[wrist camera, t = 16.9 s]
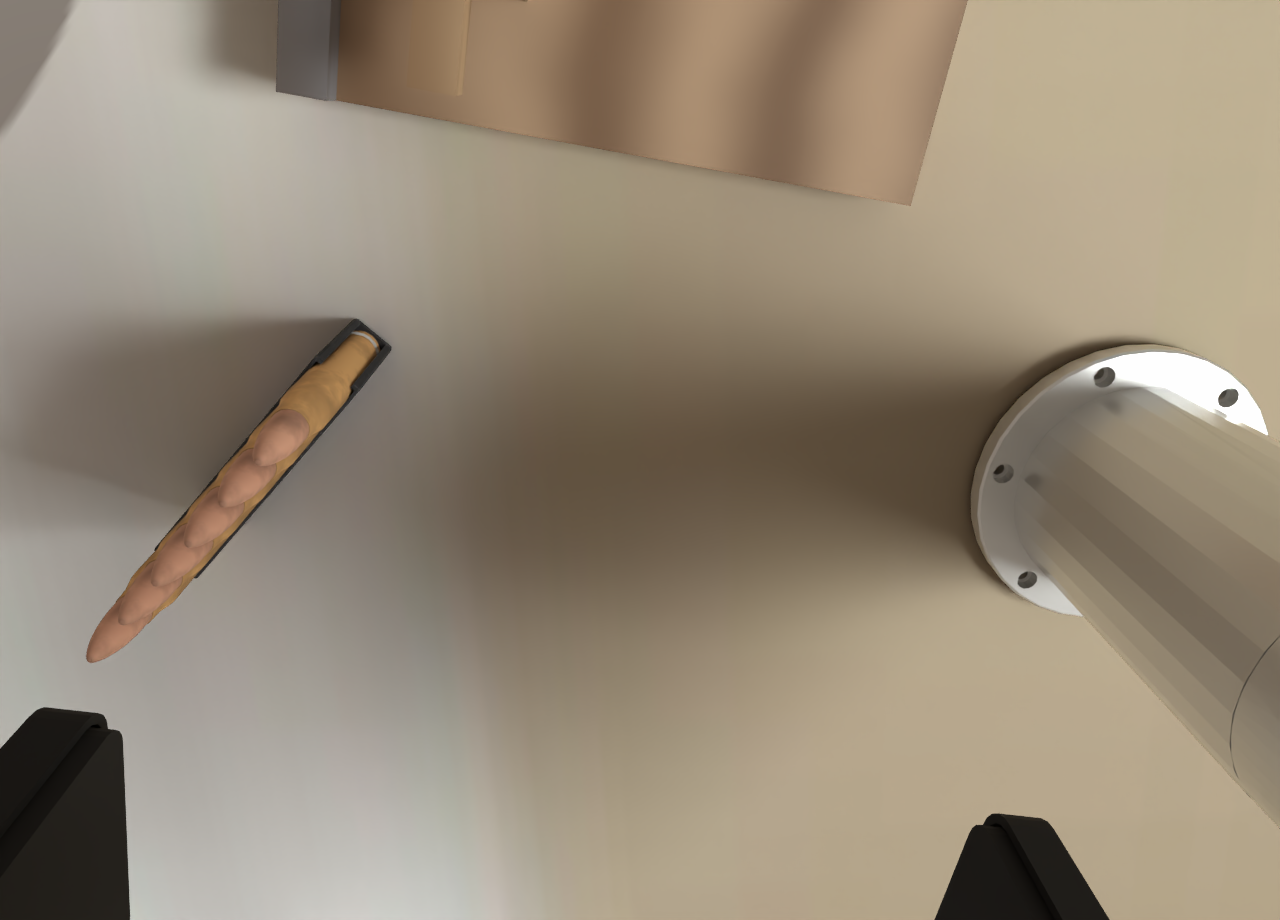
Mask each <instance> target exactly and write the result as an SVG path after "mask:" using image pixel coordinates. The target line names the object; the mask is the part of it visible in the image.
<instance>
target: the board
mask: <svg viewBox="0 0 1280 920" xmlns="http://www.w3.org/2000/svg"><path fill="white" fill-rule="evenodd" d="M967 1H968V0H528V2H525V1H520V0H472V2H471V12H470V22H469V32H468V42H467V53H466V63H465V73H464V83H463V93H462V95H459V96H452V95H446V94H441V93H436V92H431V91H425V90H420V89H415V88H410V87H406V85H407V72H408V59H409V45H410V32H411V19H412V6H413V0H279V1H278V39H277V76H276V92H281V93H287V94H292V95H298V96H303V97H309V98H314V99H319V100H325V101H332V100H337V101H343V102H348V103H354V104H359V105H364V106H370V107H375V108H381V109H386V110H392V111H397V112H403V113H408V114H413V115H419V116H424V117H430V118H435V119H441V120H446V121H451V122H457V123H462V124H468V125H473V126H479V127H484V128H490V129H495V130H500V131H506V132H511V133H517V134H522V135H528V136H533V137H539V138H544V139H549V140H555V141H560V142H566V143H571V144H577V145H582V146H587V147H593V148H598V149H604V150H609V151H615V152H620V153H626V154H631V155H636V156H642V157H647V158H653V159H658V160H664V161H669V162H674V163H680V164H685V165H691V166H696V167H702V168H707V169H713V170H718V171H723V172H729V173H734V174H740V175H745V176H751V177H756V178H762V179H767V180H772V181H778V182H783V183H789V184H794V185H800V186H805V187H810V188H816V189H821V190H827V191H832V192H838V193H843V194H849V195H854V196H859V197H865V198H870V199H876V200H881V201H887V202H892V203H898V204H903V205H908V206H911V202H912V199H913V195H914V191H915V188H916V184H917V181H918V177H919V173H920V170H921V166H922V163H923V159H924V156H925V152H926V148H927V145H928V141H929V138H930V134H931V130H932V127H933V123H934V120H935V116H936V112H937V109H938V105H939V102H940V98H941V95H942V91H943V87H944V84H945V80H946V77H947V73H948V69H949V66H950V62H951V59H952V55H953V51H954V48H955V44H956V41H957V37H958V34H959V30H960V26H961V23H962V19H963V16H964V12H965V8H966V5H967Z"/></svg>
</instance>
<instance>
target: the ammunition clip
mask: <svg viewBox="0 0 1280 920" xmlns="http://www.w3.org/2000/svg"><path fill="white" fill-rule="evenodd" d="M390 351H391V346H390V345H389V344H388V343H386V342H385V341H384V340H383V339H381V338H380V337H379V336H378V335H377V334H375V333H374V332H373V331H372V330H370V329H369V328H368V327H367V326H366V325H364V324H363V323H362V322H361V321H359V320H358V319H354V320H353V321H352V322H351V323H350V324H349V325H348V326H347V327H346V328H345V329H344V330H342V331H341V332H340V333H339V334H338V335H337V336H336V337H335V338H334V339H333V340H332V341H331V342H330V343H329V344H328V345H327V346H326V347H325V348H324V349H323V350H322V351H321V352H320V353H319V354H318V355H317V356H316V357H315V358H314V359H313V360H312V361H311V362H310V364H309V365H308V366H307V367H306V368H305V370H304V371H303V372H302V373H301V374H300V375H299V377H298V378H297V379H296V380H295V381H294V383H293V384H292V385H291V386H290V387H289V389H288V390H287V391H286V392H285V393H284V395H283V396H282V397H281V398H280V399H279V401H278V402H277V403H276V404H275V405H274V407H273V408H272V409H271V410H270V411H269V413H268V414H267V415H266V416H265V417H264V419H263V420H262V421H261V422H260V423H259V424H258V426H257V427H256V428H255V429H254V430H253V432H252V433H251V434H250V435H249V436H248V438H247V439H246V440H245V441H244V442H243V444H242V445H241V446H240V447H239V448H238V450H237V451H236V452H235V453H234V454H233V456H232V457H231V458H230V459H229V460H228V462H227V463H226V464H225V465H224V466H223V468H222V469H221V470H220V471H219V472H218V473H217V475H216V476H215V477H214V478H213V479H212V481H211V482H210V483H209V484H208V485H207V487H206V488H205V489H204V490H203V491H202V493H201V494H200V495H199V496H198V497H197V499H196V500H195V501H194V502H193V503H192V505H191V506H190V507H189V508H188V509H187V511H186V512H185V513H184V514H183V515H182V517H181V518H180V519H179V520H178V521H177V522H176V524H175V525H174V526H173V527H172V528H171V530H170V531H169V532H168V533H167V534H166V536H165V537H164V538H163V539H162V540H161V542H160V543H159V544H158V545H157V546H156V548H155V550H154V551H155V552H154V553H153V554H152V555H151V556H150V557H149V558H148V559H147V561H146V562H145V563H144V564H143V565H142V566H141V567H140V568H139V569H138V570H137V572H136V573H135V574H134V575H133V576H132V578H131V580H130V582H129V584H128V586H127V588H126V590H125V591H124V592H123V594H122V595H121V596H120V597H119V598H118V600H117V601H116V603H115V604H114V605H113V607H112V608H111V609H110V610H109V611H108V612H107V614H106V615H105V616H104V618H103V619H102V620H101V622H100V623H99V625H98V626H97V628H96V630H95V631H94V633H93V635H92V638H91V640H90V643H89V645H88V649H87V655H86V659H87V661H88V662H90V663H93V662H97V661H100V660H102V659H105V658H107V657H108V656H110V655H112V654H114V653H115V652H117V651H118V650H120V649H121V648H123V647H124V646H125V645H126V644H128V643H129V642H130V641H131V640H132V639H133V638H134V637H135V636H136V635H137V634H138V633H139V632H140V631H141V630H142V629H143V628H144V626H145V625H146V624H148V623H149V622H150V621H151V620H152V619H153V618H154V617H155V616H156V615H157V614H158V613H159V612H160V611H161V610H163V609H164V608H166V607H167V606H169V605H170V604H172V603H173V602H174V601H175V600H176V598H177V597H178V596H179V595H180V594H181V593H182V591H183V590H184V589H185V588H186V587H187V585H188V584H189V583H190V582H191V581H192V579H193V578H198V577H199V576H200V574H201V573H202V572H203V571H204V570H205V569H206V568H207V566H208V565H209V564H210V563H211V562H212V561H213V559H214V558H215V557H216V556H217V555H218V554H219V552H220V551H221V550H222V549H223V548H224V547H225V546H226V544H227V543H228V542H229V541H230V540H231V539H232V537H233V536H234V535H235V534H236V533H237V532H238V531H239V529H240V528H241V527H242V526H243V525H244V524H245V522H246V521H247V520H248V519H249V518H250V517H251V515H252V514H253V513H254V512H255V511H256V510H257V509H258V507H259V506H260V505H261V504H262V503H263V502H264V500H265V499H266V498H267V497H268V496H269V495H270V494H271V492H272V491H273V490H274V489H275V488H276V487H277V485H278V484H279V483H280V482H281V481H282V480H283V478H284V477H285V476H286V475H287V474H288V473H289V472H290V470H291V469H292V468H293V467H294V466H295V465H296V463H297V462H298V461H299V460H300V459H301V458H302V457H303V455H304V454H305V453H306V452H307V451H308V450H309V448H310V447H311V446H312V445H313V444H314V443H315V441H316V440H317V439H318V438H319V437H320V436H321V435H322V433H323V432H324V431H325V430H326V429H327V428H328V426H329V425H330V424H331V423H332V422H333V421H334V420H335V418H336V417H337V416H338V415H339V414H340V413H341V411H342V410H343V409H344V408H345V407H346V406H347V404H348V403H349V402H350V401H351V400H352V399H353V398H354V396H355V395H356V394H357V393H358V392H359V391H360V389H361V388H362V387H363V385H364V384H365V383H366V382H367V380H368V379H369V378H370V377H371V375H372V374H373V373H374V372H375V370H376V369H377V368H378V366H379V365H380V364H381V363H382V361H383V360H384V359H385V358H386V356H387V355H388V354H389V353H390Z"/></svg>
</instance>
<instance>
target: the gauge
mask: <svg viewBox="0 0 1280 920" xmlns="http://www.w3.org/2000/svg"><path fill="white" fill-rule="evenodd" d="M520 1H525V2H528V0H520ZM471 2H472V0H413V6H412V19H411V32H410V45H409V59H408V72H407V85H406V87H410V88H415V89H420V90H425V91H431V92H436V93H441V94H446V95H452V96H459V95H462V93H463V83H464V73H465V63H466V53H467V42H468V32H469V22H470V12H471Z"/></svg>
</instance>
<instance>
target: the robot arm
mask: <svg viewBox="0 0 1280 920" xmlns="http://www.w3.org/2000/svg"><path fill="white" fill-rule="evenodd" d="M1097 371H1098V373H1097V374H1096V372H1097ZM1095 374H1096V375H1095ZM998 466H999V468H998V469H996V468H997V467H998ZM995 469H996V470H995ZM971 520H972V524H973V528H974V532H975V536H976V541H977V543H978V545H979V547H980V549H981V551H982V553H983V555H984V557H985V559H986V561H987V562H988V563H989V565H990V566H991V567H992V568H993V570H994V571H995V572H996V573H997V575H998V576H999V577H1000V579H1001V580H1002V581H1003V582H1004V583H1005V584H1006V585H1007V586H1008V587H1009V588H1010V589H1011V590H1012V591H1013V592H1015V593H1016V594H1017V595H1019V596H1021V597H1022V598H1024V599H1026V600H1027V601H1029V602H1031V603H1033V604H1034V605H1036V606H1038V607H1041V608H1044V609H1047V610H1050V611H1053V612H1056V613H1059V614H1065V615H1072V616H1079V617H1085V619H1086V620H1087V621H1088V622H1089V623H1090V624H1091V625H1092V626H1093V627H1094V628H1095V629H1096V631H1097V632H1098V633H1099V634H1100V635H1101V636H1102V637H1103V638H1104V639H1105V640H1106V641H1107V642H1108V644H1109V645H1110V646H1111V647H1112V648H1113V649H1114V650H1115V651H1116V652H1117V653H1118V654H1119V656H1120V657H1121V658H1122V659H1123V660H1124V661H1125V662H1126V663H1127V664H1128V665H1129V666H1130V668H1131V669H1132V670H1133V671H1134V672H1135V673H1136V674H1137V675H1138V676H1139V677H1140V678H1141V680H1142V681H1143V682H1144V683H1145V684H1146V685H1147V686H1148V687H1149V688H1150V689H1151V690H1152V692H1153V693H1154V694H1155V695H1156V696H1157V697H1158V698H1159V699H1160V700H1161V701H1162V702H1163V704H1164V705H1165V706H1166V707H1167V708H1168V709H1169V710H1170V711H1171V712H1172V713H1173V714H1174V716H1175V717H1176V718H1177V719H1178V720H1179V721H1180V722H1181V723H1182V724H1183V725H1184V726H1185V728H1186V729H1187V730H1188V731H1189V732H1190V733H1191V734H1192V735H1193V736H1194V737H1195V738H1196V740H1197V741H1198V742H1199V743H1200V744H1201V745H1202V746H1203V747H1204V748H1205V749H1206V750H1207V752H1208V753H1209V754H1210V755H1211V756H1212V757H1213V758H1214V759H1215V760H1216V761H1217V762H1218V764H1219V765H1220V766H1221V767H1222V768H1223V769H1224V770H1225V771H1226V772H1227V773H1228V774H1229V775H1230V777H1231V778H1232V779H1233V780H1234V781H1235V782H1236V783H1237V784H1238V785H1239V786H1240V787H1241V788H1242V789H1243V791H1244V792H1245V793H1246V794H1247V795H1248V796H1249V797H1250V798H1252V799H1253V801H1254V802H1255V803H1256V804H1257V805H1258V806H1259V807H1260V808H1261V809H1262V810H1263V811H1264V813H1265V814H1266V815H1267V816H1268V817H1269V818H1270V819H1271V820H1272V821H1273V822H1274V823H1275V824H1276V825H1277V826H1278V828H1279V829H1280V441H1278V440H1276V439H1274V438H1272V437H1270V436H1268V430H1267V427H1266V424H1265V421H1264V418H1263V415H1262V412H1261V409H1260V407H1259V405H1258V404H1257V402H1256V401H1255V399H1254V398H1253V396H1252V395H1251V393H1250V392H1249V390H1248V389H1247V387H1246V386H1245V385H1244V384H1243V383H1241V382H1240V381H1239V380H1238V379H1237V378H1236V377H1235V376H1234V375H1233V374H1232V373H1231V372H1229V371H1228V370H1226V369H1225V368H1223V367H1221V366H1219V365H1217V364H1215V363H1214V362H1212V361H1210V360H1208V359H1206V358H1204V357H1201V356H1199V355H1196V354H1194V353H1191V352H1189V351H1186V350H1183V349H1180V348H1174V347H1168V346H1162V345H1156V344H1146V345H1124V346H1120V347H1115V348H1110V349H1105V350H1100V351H1097V352H1094V353H1091V354H1089V355H1086V356H1084V357H1081V358H1079V359H1076V360H1074V361H1071V362H1069V363H1067V364H1066V365H1064V366H1062V367H1060V368H1059V369H1057V370H1055V371H1054V372H1052V373H1050V374H1049V375H1047V376H1045V377H1044V378H1042V379H1041V380H1040V381H1039V382H1037V383H1036V384H1035V385H1034V386H1033V387H1031V388H1030V389H1029V390H1028V391H1027V392H1025V393H1024V394H1023V395H1022V396H1021V397H1020V398H1019V399H1018V400H1017V401H1016V402H1015V403H1014V404H1013V406H1012V407H1011V408H1010V409H1009V410H1008V411H1007V412H1006V414H1005V415H1004V416H1003V417H1002V418H1001V419H1000V421H999V422H998V424H997V426H996V427H995V429H994V431H993V432H992V434H991V436H990V437H989V439H988V440H987V442H986V444H985V446H984V449H983V451H982V454H981V456H980V459H979V461H978V464H977V466H976V469H975V474H974V479H973V485H972V490H971ZM0 920H130V903H129V879H128V855H127V831H126V806H125V782H124V758H123V740H122V735H121V733H120V731H117V730H111V729H108V726H107V721H106V719H105V717H104V715H102V714H99V713H91V712H82V711H73V710H64V709H55V708H46V707H44V708H41V709H38V710H36V711H35V712H34V713H33V714H32V715H31V716H29V718H28V719H27V720H26V721H25V722H24V723H23V724H22V725H21V726H20V728H19V729H18V730H17V731H16V732H15V733H14V734H13V735H12V736H11V737H10V739H9V740H8V741H7V742H6V743H5V744H4V745H3V746H2V747H1V749H0ZM935 920H1109V918H1108V917H1107V915H1106V913H1105V912H1104V910H1103V908H1102V907H1101V905H1100V904H1099V902H1098V900H1097V899H1096V897H1095V895H1094V894H1093V892H1092V891H1091V889H1090V887H1089V886H1088V884H1087V882H1086V881H1085V879H1084V878H1083V876H1082V874H1081V873H1080V871H1079V869H1078V868H1077V866H1076V864H1075V863H1074V861H1073V860H1072V858H1071V856H1070V855H1069V853H1068V851H1067V850H1066V848H1065V847H1064V845H1063V843H1062V842H1061V840H1060V838H1059V837H1058V835H1057V834H1056V832H1055V830H1054V829H1053V828H1052V826H1051V825H1050V824H1049V823H1048V822H1047V821H1045V820H1043V819H1042V818H1033V817H1024V816H1015V815H1006V814H991V815H990V816H989V817H987V819H986V820H985V822H984V824H983V825H976V826H974V827H973V828H972V830H971V831H970V833H969V836H968V838H967V840H966V843H965V845H964V848H963V850H962V853H961V855H960V858H959V860H958V863H957V865H956V868H955V870H954V873H953V875H952V878H951V880H950V883H949V885H948V888H947V890H946V893H945V895H944V898H943V900H942V903H941V905H940V908H939V910H938V913H937V915H936V918H935Z"/></svg>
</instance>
